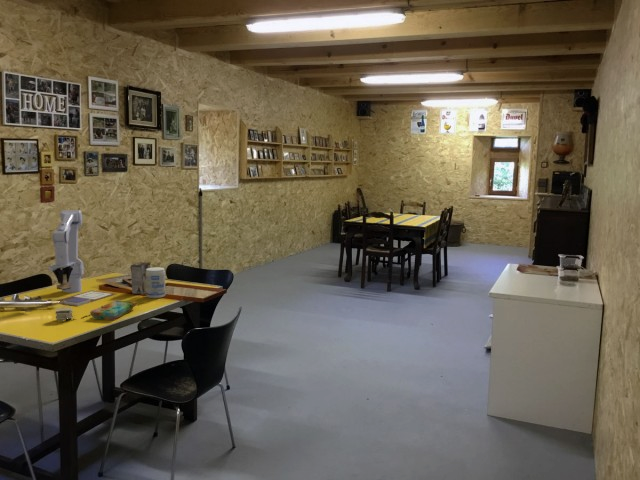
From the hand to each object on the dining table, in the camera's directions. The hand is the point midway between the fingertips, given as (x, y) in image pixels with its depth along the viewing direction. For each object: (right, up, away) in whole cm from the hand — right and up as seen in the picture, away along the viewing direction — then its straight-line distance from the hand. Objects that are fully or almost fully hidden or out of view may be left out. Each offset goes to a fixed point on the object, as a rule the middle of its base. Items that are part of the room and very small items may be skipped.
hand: (63, 282), depth 267 cm
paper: (+9, -8, +13) cm, 17 cm away
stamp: (0, -3, 0) cm, 3 cm away
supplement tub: (+41, -9, +16) cm, 45 cm away
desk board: (+7, -9, +8) cm, 14 cm away
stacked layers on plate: (+13, -15, -27) cm, 33 cm away
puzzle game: (+32, -14, -16) cm, 38 cm away
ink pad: (+8, -10, -2) cm, 13 cm away
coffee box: (+31, -8, +22) cm, 39 cm away
